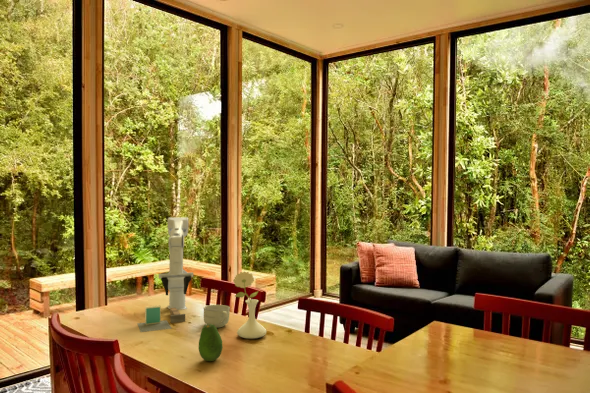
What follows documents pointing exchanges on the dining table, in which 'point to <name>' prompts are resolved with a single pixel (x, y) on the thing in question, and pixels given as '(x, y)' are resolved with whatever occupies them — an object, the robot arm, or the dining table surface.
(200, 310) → the dining table surface
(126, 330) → the dining table surface
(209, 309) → the teacup
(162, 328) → the mat
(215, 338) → the fruit
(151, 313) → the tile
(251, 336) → the flower in vase
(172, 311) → the hammer
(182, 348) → the dining table surface
